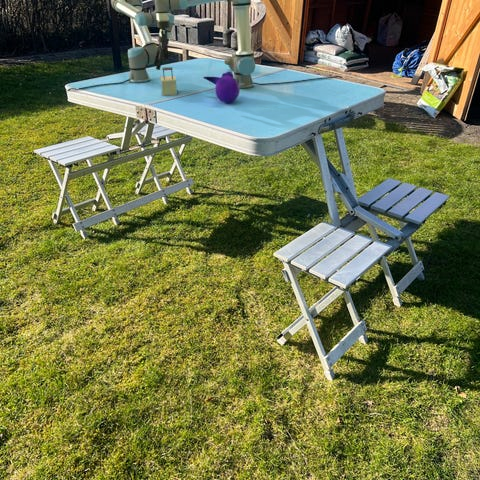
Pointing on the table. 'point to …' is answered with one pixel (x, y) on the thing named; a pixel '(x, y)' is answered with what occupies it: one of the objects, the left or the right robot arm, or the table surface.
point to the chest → (169, 88)
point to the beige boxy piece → (168, 78)
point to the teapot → (230, 62)
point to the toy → (225, 87)
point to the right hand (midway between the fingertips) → (166, 57)
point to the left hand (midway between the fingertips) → (156, 67)
